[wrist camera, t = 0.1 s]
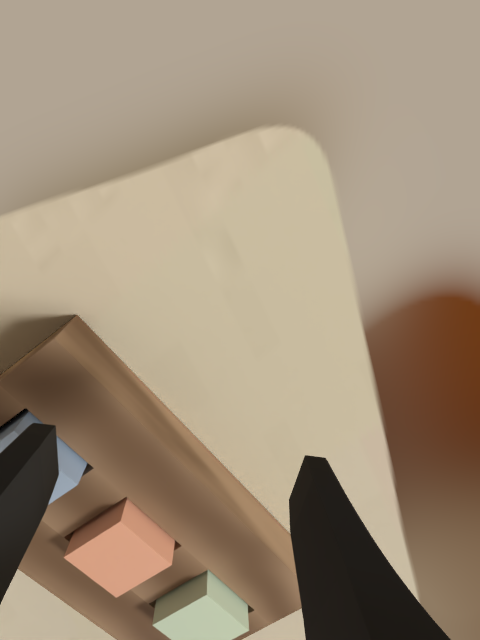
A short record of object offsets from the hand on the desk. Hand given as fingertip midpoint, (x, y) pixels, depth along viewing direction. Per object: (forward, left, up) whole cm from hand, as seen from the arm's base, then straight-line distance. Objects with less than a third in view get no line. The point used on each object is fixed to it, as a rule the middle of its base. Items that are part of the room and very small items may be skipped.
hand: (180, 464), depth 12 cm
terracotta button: (-10, -7, -9) cm, 15 cm away
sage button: (-10, -14, -9) cm, 19 cm away
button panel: (-10, -7, -10) cm, 16 cm away
